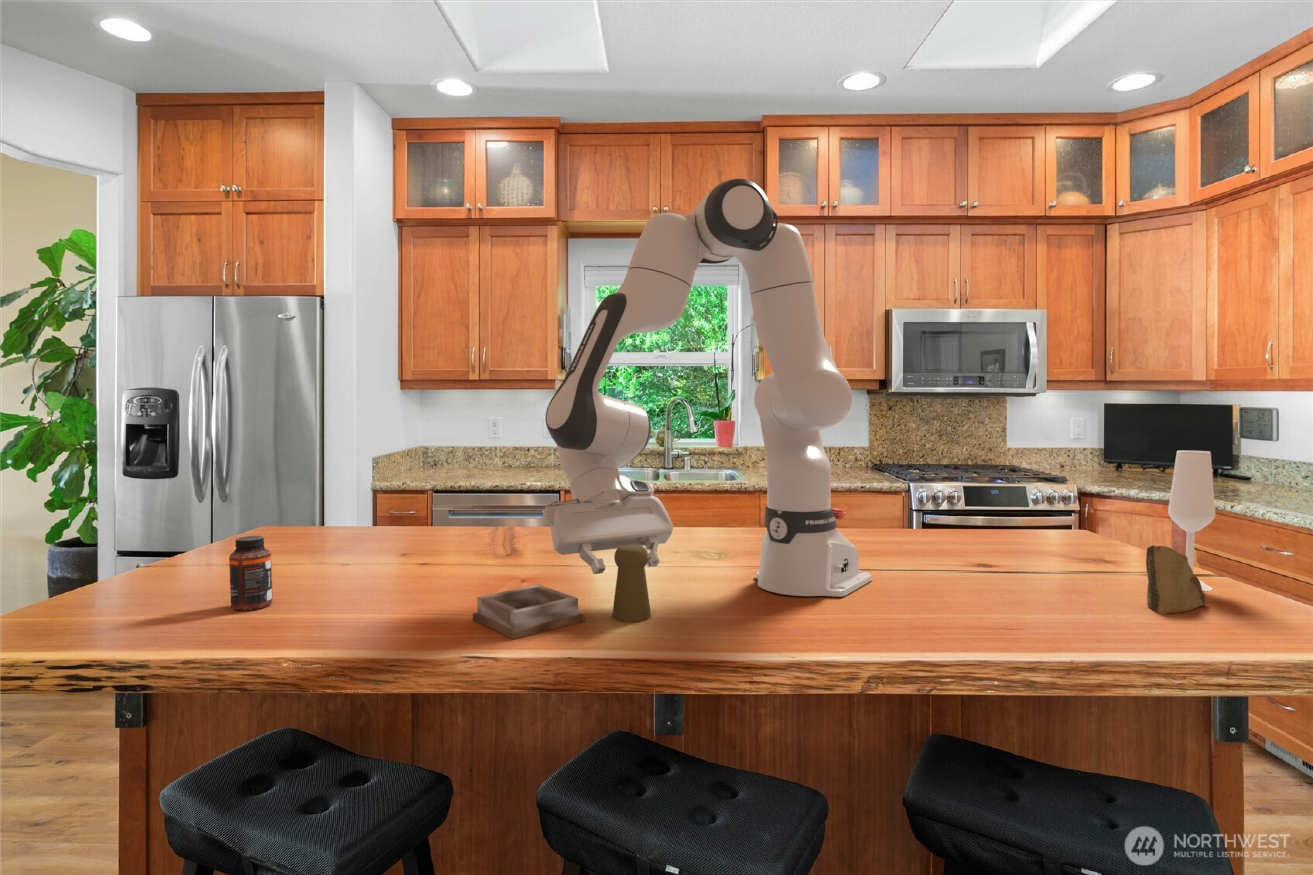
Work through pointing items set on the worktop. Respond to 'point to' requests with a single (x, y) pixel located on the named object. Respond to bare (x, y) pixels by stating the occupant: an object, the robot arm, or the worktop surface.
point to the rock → (1171, 582)
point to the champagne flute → (1192, 497)
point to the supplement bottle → (250, 574)
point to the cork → (631, 585)
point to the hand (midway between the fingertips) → (627, 568)
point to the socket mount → (527, 611)
